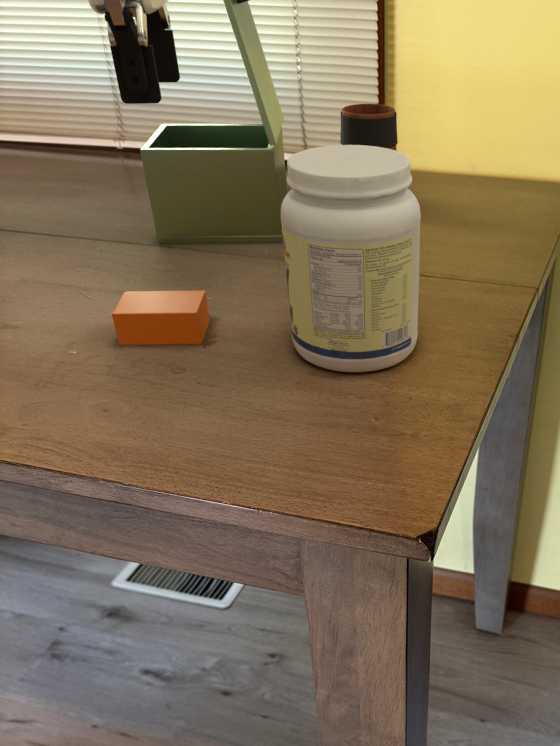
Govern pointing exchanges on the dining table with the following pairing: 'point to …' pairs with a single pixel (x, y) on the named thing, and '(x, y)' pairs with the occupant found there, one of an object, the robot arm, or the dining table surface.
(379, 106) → the mug
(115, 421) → the dining table surface
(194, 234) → the bin
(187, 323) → the orange block
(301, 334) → the supplement tub
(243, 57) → the bin lid
